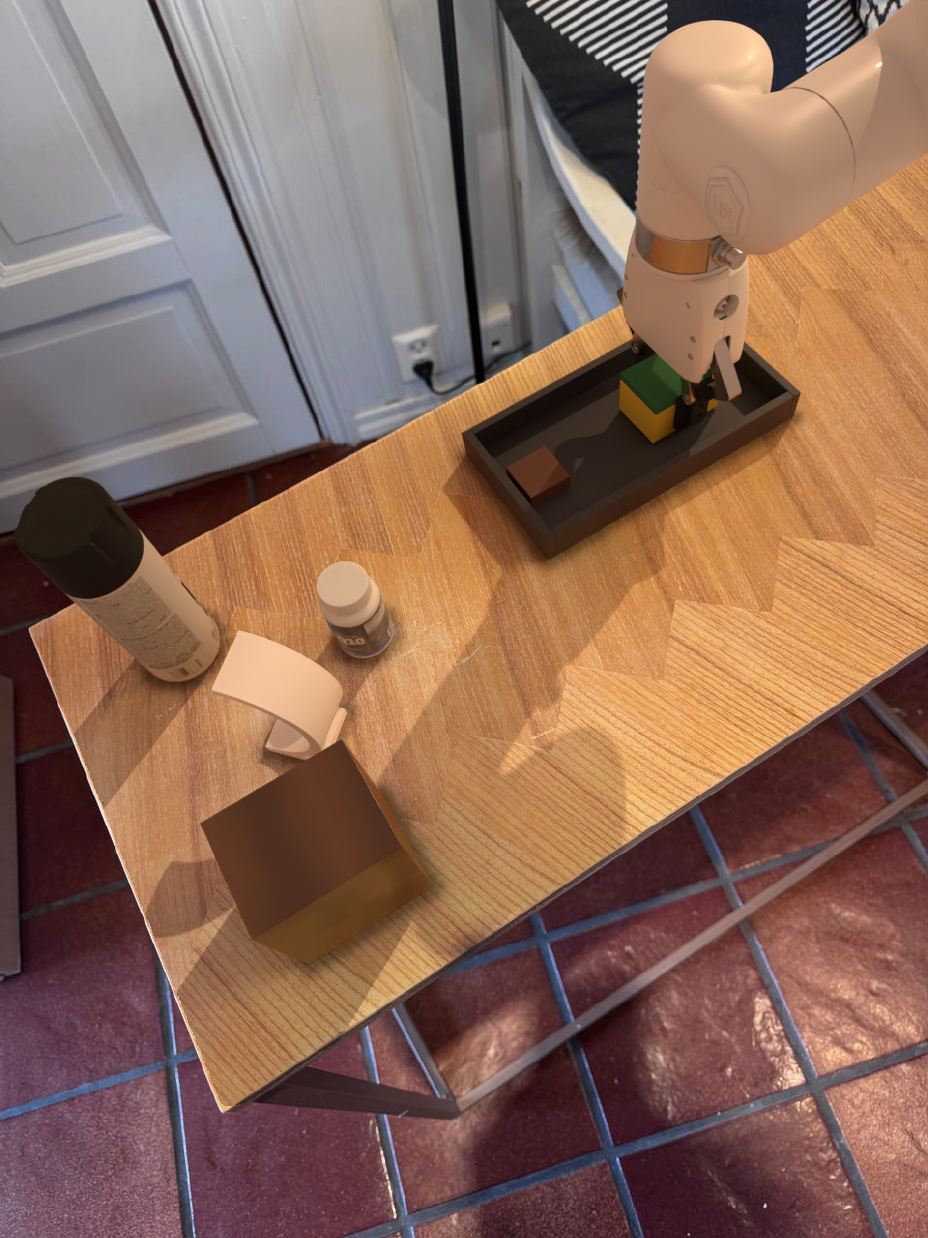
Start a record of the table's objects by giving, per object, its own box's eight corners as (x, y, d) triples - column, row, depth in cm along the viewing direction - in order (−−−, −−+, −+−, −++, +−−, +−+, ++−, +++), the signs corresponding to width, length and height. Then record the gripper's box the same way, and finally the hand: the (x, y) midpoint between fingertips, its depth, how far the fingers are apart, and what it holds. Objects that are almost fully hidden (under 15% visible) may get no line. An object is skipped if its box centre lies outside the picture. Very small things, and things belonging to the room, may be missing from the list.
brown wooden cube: (381, 793, 66) (342, 738, 56) (433, 886, 63) (402, 846, 52) (262, 865, 65) (199, 823, 54) (309, 965, 61) (251, 940, 51)
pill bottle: (327, 645, 73) (297, 595, 65) (358, 599, 74) (333, 546, 67) (374, 669, 71) (350, 621, 64) (405, 622, 73) (385, 570, 65)
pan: (696, 326, 84) (700, 300, 81) (793, 416, 77) (801, 392, 75) (465, 454, 80) (461, 432, 77) (548, 560, 74) (546, 540, 71)
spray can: (235, 621, 75) (127, 479, 57) (204, 693, 72) (80, 568, 54) (166, 607, 76) (40, 464, 59) (132, 677, 74) (-10, 550, 56)
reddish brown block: (545, 455, 78) (544, 445, 77) (570, 486, 76) (570, 475, 75) (506, 477, 77) (505, 467, 76) (531, 508, 76) (530, 498, 74)
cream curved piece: (290, 697, 71) (238, 629, 60) (359, 715, 69) (319, 649, 59) (267, 750, 69) (210, 690, 58) (338, 770, 67) (292, 711, 57)
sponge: (682, 371, 80) (687, 334, 76) (717, 405, 78) (724, 369, 74) (618, 408, 79) (620, 372, 75) (652, 443, 77) (656, 409, 73)
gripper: (816, 269, 59) (767, 443, 75) (659, 144, 66) (645, 326, 82) (724, 320, 58) (695, 486, 74) (576, 187, 65) (578, 364, 81)
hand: (669, 400), depth 78 cm, fingers closed on sponge, 5 cm apart
